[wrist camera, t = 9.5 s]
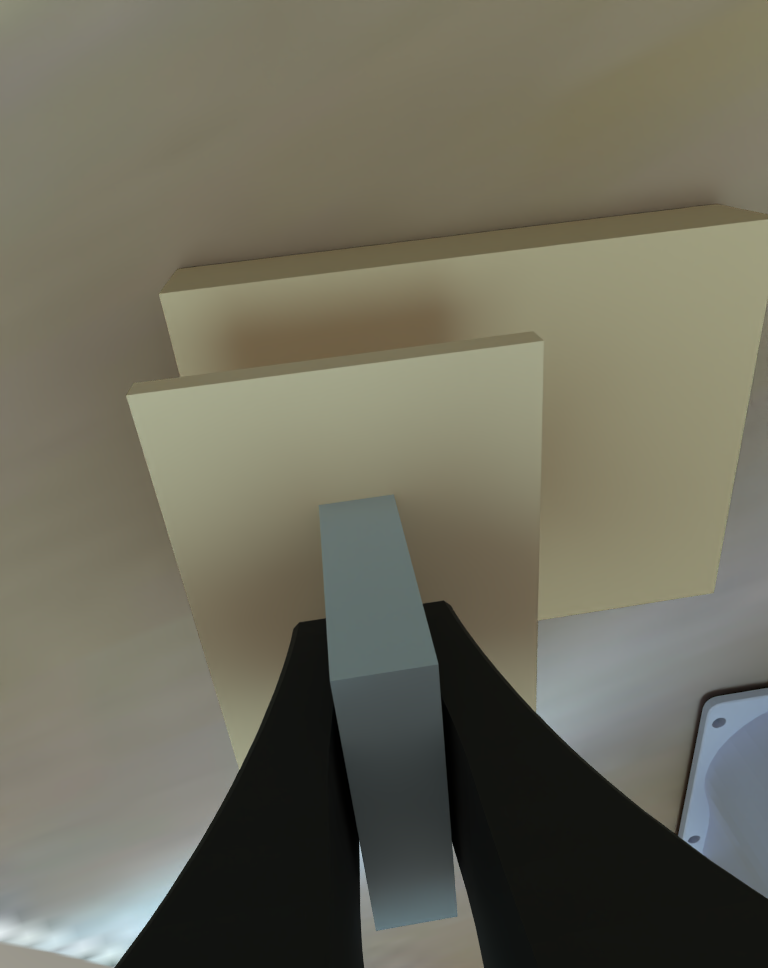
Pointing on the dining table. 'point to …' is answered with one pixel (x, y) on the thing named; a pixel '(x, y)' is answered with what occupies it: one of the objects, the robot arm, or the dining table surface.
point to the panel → (548, 367)
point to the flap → (361, 557)
